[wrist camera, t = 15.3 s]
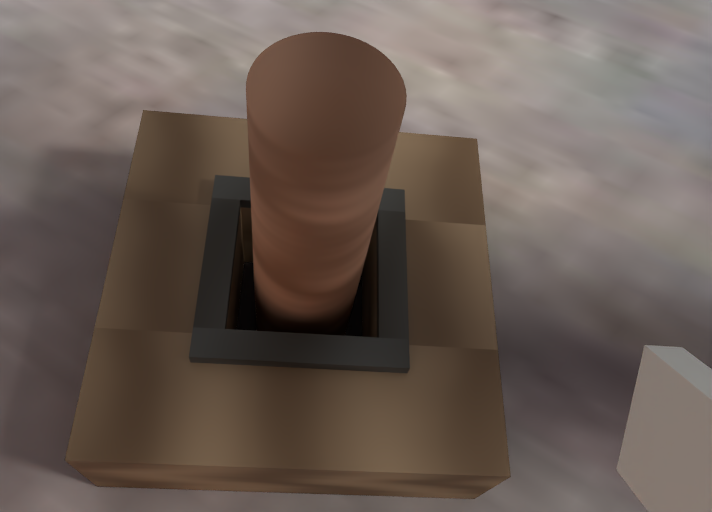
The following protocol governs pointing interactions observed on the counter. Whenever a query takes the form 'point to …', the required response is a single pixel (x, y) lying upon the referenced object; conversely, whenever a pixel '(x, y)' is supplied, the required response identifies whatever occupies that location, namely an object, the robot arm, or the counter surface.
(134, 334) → the walnut socket block
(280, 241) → the terracotta peg
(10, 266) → the counter surface
